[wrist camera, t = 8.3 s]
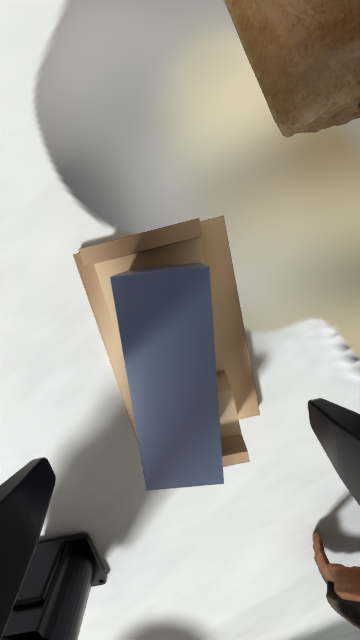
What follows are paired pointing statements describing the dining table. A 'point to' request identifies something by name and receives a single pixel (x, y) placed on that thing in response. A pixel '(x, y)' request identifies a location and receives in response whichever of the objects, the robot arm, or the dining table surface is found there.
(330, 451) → the robot arm
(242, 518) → the dining table surface
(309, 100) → the stone cup
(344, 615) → the pottery mug
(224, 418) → the display cradle
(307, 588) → the dining table surface
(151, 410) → the tall slate-blue box
